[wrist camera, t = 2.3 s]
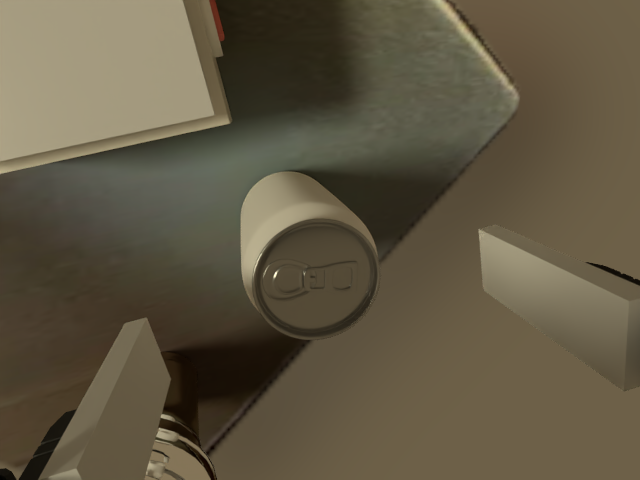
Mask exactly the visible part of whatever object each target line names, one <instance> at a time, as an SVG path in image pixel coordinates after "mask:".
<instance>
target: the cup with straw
mask: <svg viewBox="0 0 640 480" xmlns="http://www.w3.org/2000/svg"><path fill="white" fill-rule="evenodd" d="M161 355H162V358H163V360H164V363H165V365H166V368H167V370H168V373H169V375H170V378H171V381H170V385H169V388H168V392H167V396H166V400H165V403H164V407H163V411H162V415H161V418H160V422H159V426H158V430H157V434H156V437H155V441H154V445H153V449H152V452H151V456H150V460H149V464H148V467H147V471H146V475H145V479H144V480H217V476H216V472H215V468H214V465H213V464H212V462H211V460H210V458H209V456H208V455H207V454H206V453H205V452H204V451H203V449H202V448H201V442H200V438H199V419H198V383H197V380H198V374H197V370H196V368H195V366H194V364H193V363H192V362H191V361H190V360H189V359H188V358H186V357H184V356H182V355H180V354H177V353H173V352H161Z"/></svg>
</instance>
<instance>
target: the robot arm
mask: <svg viewBox="0 0 640 480" xmlns="http://www.w3.org/2000/svg"><path fill="white" fill-rule="evenodd" d="M479 241H480V254H481V267H482V280H483V290H484V291H485V292H487V293H488V294H490V295H491V296H492V297H494V298H495V299H496V300H498V301H499V302H501V303H502V304H503V305H505V306H506V307H508V308H509V309H510V310H512V311H513V312H515V313H516V314H518V315H519V316H520V317H521V318H523V319H524V320H526V321H527V322H528V323H530V324H531V325H533V326H534V327H535V328H537V329H538V330H539V331H541V332H542V333H544V334H545V335H546V336H548V337H549V338H551V339H552V340H553V341H555V342H556V343H557V344H559V345H560V346H562V347H563V348H565V349H566V350H567V351H568V352H570V353H571V354H573V355H574V356H575V357H577V358H578V359H579V360H581V361H582V362H584V363H585V364H586V365H588V366H589V367H591V368H592V369H593V370H595V371H596V372H598V373H599V374H600V375H602V376H603V377H604V378H606V379H607V380H609V381H610V382H611V383H613V384H614V385H615V386H617V387H618V388H620V389H621V390H623V391H627V390H630V389H633V388H636V387H639V386H640V280H638V279H633V277H631V276H628V275H626V274H621V273H620V272H619V271H616V270H614V269H611V268H609V267H606V266H603V265H598V264H593V263H588V262H583V261H580V260H578V259H576V258H573V257H571V256H569V255H566V254H564V253H562V252H559V251H557V250H555V249H552V248H550V247H548V246H545V245H543V244H541V243H538V242H536V241H533V240H531V239H529V238H527V237H524V236H522V235H520V234H518V233H515V232H513V231H511V230H508V229H506V228H504V227H501V226H499V225H497V224H495V225H492V226H488V227H484V228H480V229H479ZM170 381H171V378H170V375H169V373H168V370H167V368H166V365H165V363H164V360H163V358H162V355H161V353H160V350H159V348H158V345H157V343H156V340H155V338H154V335H153V333H152V330H151V327H150V325H149V322H148V320H147V318H143V319H139V320H135V321H132V322H128V323H125V324H124V326H123V328H122V330H121V331H120V333H119V335H118V337H117V339H116V340H115V342H114V344H113V346H112V348H111V349H110V351H109V353H108V355H107V357H106V358H105V360H104V362H103V364H102V366H101V367H100V369H99V371H98V373H97V375H96V376H95V378H94V380H93V382H92V384H91V385H90V387H89V389H88V391H87V393H86V394H85V396H84V398H83V400H82V402H81V403H80V405H79V407H78V409H76V410H73V411H69V412H66V413H65V414H64V415H63V416H62V417H61V418H60V419H59V420H58V421H57V422H56V423H55V424H54V425H53V426H52V427H50V429H49V431H48V432H47V434H46V436H45V437H44V439H43V440H42V442H41V446H39V447H38V449H37V450H36V452H35V454H34V455H33V459H31V460H30V462H29V463H28V465H27V467H26V468H25V470H24V472H23V473H22V475H21V477H20V478H19V480H144V479H145V475H146V471H147V467H148V464H149V460H150V456H151V452H152V449H153V445H154V441H155V437H156V434H157V430H158V426H159V422H160V418H161V415H162V411H163V407H164V403H165V400H166V396H167V392H168V388H169V385H170ZM0 480H16V478H15V476H14V475H13V473H12V472H11V471H9V470H8V469H6V468H5V469H0Z"/></svg>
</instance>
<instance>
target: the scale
mask: <svg viewBox="0 0 640 480" xmlns="http://www.w3.org/2000/svg"><path fill="white" fill-rule="evenodd" d="M224 38H225V36H224V32H223V28H222V25H221V21H220V17H219V13H218V9H217V5H216V2H215V0H0V174H1V173H6V172H10V171H15V170H19V169H24V168H29V167H33V166H38V165H42V164H47V163H51V162H56V161H61V160H65V159H70V158H74V157H79V156H84V155H88V154H93V153H97V152H102V151H106V150H111V149H116V148H120V147H125V146H129V145H134V144H139V143H143V142H148V141H152V140H157V139H161V138H166V137H171V136H175V135H180V134H184V133H189V132H194V131H198V130H203V129H207V128H212V127H216V126H221V125H226V124H230V123H231V122H232V117H231V113H230V110H229V106H228V102H227V98H226V95H225V91H224V87H223V83H222V79H221V76H220V72H219V68H218V64H217V61H216V57H221V56H223V52H222V48H221V44H220V41H223V40H224Z"/></svg>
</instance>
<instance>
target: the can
mask: <svg viewBox="0 0 640 480" xmlns="http://www.w3.org/2000/svg"><path fill="white" fill-rule="evenodd" d="M241 268H242V278H243V283H244V286H245V289H246V292H247V295H248V297H249V299H250V300H251V302H252V304H253V305H254V306H255V308H256V309H257V310H258V311H259V312H260V313H261V315H262V316H263V318H264V319H265V320H266V321H267V322H268V323H269V324H270V325H271V326H272V327H273V328H275V329H276V330H278V331H279V332H281V333H283V334H285V335H288V336H290V337H294V338H298V339H304V340H319V339H325V338H329V337H333V336H336V335H338V334H341V333H343V332H344V331H346V330H348V329H349V328H351V327H353V326H354V325H355V324H356V323H358V322H359V321H360V320H361V319H362V318H363V317H364V316H365V314H366V313H367V312H368V311H369V309H370V307H371V306H372V304H373V302H374V300H375V298H376V296H377V293H378V289H379V284H380V264H379V260H378V257H377V250H376V246H375V243H374V240H373V238H372V236H371V234H370V232H369V230H368V229H367V227H366V226H365V225H364V223H363V222H362V221H361V220H360V219H359V218H358V217H357V216H356V215H355V214H354V213H353V212H352V211H351V210H350V209H349V208H348V207H346V206H345V205H344V204H343V203H342V202H341V201H340V200H338V199H337V198H336V197H335V196H334V195H333V194H332V193H330V192H329V191H328V190H327V189H326V188H325V187H323V186H322V185H321V184H320V183H318V182H317V181H316V180H314V179H313V178H311V177H309V176H307V175H305V174H302V173H298V172H291V171H285V172H278V173H274V174H271V175H269V176H267V177H265V178H263V179H261V180H260V181H259V182H258V183H256V184H255V185H254V186H253V187H252V189H251V190H250V191H249V193H248V194H247V196H246V198H245V200H244V203H243V205H242V210H241Z"/></svg>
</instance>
